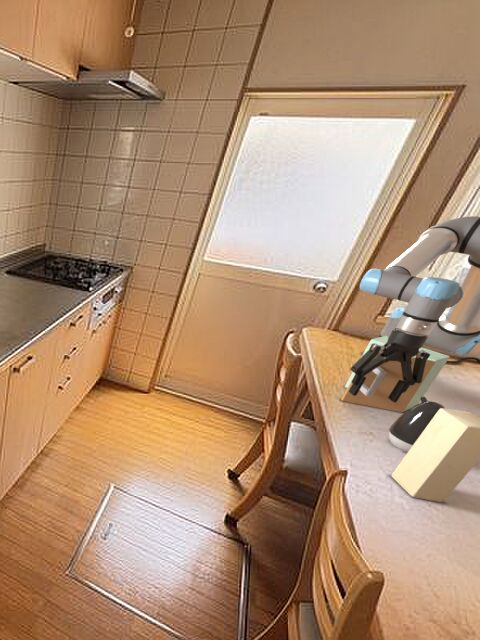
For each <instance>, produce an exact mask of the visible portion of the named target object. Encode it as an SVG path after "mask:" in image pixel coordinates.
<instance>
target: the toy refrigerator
mask: <svg viewBox="0 0 480 640" xmlns="http://www.w3.org/2000/svg"><path fill="white" fill-rule="evenodd" d="M479 460H480V417H479V416H477V415H476V414H474V413H472V412H470V411H463V410H457V409H450V408H445V409H444V408H440V409H439V410H438V412H437V413H436V414H435V416H434V417H433V419H432V420H431V421H430V423H429V424H428V425H427V427H426V428H425V430H424V431H423V432H422V434H421V435H420V436H419V438H418V439H417V441H416V442H415V443H414V445H413V446H412V447H411V449H410V450H409V452H406V454H405V456H404V457H403V458H402V460H401V461H400V462H399V464H398V465H397V466H396V468H395V469H394V470H393V472H392V473H391V475H390V476H391V477H392V479H393V480H394V481H395V482H396V483H398V485H400V486H401V487H402V488H403V490H405V491H406V492H407V493H408V495H410V496H411V497H412V498H414V499H421V500H427V501H433V502H438V503H444V502H445V501H446V500H447V498H448V497H450V495H451V494H452V493H453V492H454V490H455V489H456V488H457V486H458V485H459V484H460V483H461V482H462V481H463V480H464V478H465V477H466V476H467V475H468V473H469V472H470V471H471V470H472V468H474V466H475V465H476V464H477V462H478V461H479Z"/></svg>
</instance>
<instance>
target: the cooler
mask: <svg viewBox="0 0 480 640" xmlns="http://www.w3.org/2000/svg"><path fill="white" fill-rule="evenodd" d="M378 337H379V336H378ZM378 337H374V338H371V339H370V341H369V343H368V344H367V346H366V348H365V350H364V351H363V352H362V355H361V357H362V356H363V355H364V354H365V353H366V352H367V351H368V350H369V349H370V347H371V345H372V344H373V343H375V344H377V345H385V344H386V343H387V341H388V338H389V337H387V336H384V337H379V338H378ZM421 350H424V351H425V352H427V353H429V354H430V356H429V358H428V359H427V360H433V361H435V362H436V363H435V364H434V366H433V367H432V369H431V370H430V372H429V373H428V375H427V376H426V378H425V379H424V381H423V382H422V384H421V385H420V387H419V388H418V390H417V392H416V393H415V395H414V396H413V398H412V399H411V401H410V402H409V404H408V405H407V407H406V408H405V410H404V411H403V412H406V411H408V410H409V409H411V408H412V407H414V406H416V405H418V404H420V403H421V399H420V398H421V397H425V394H426V393H427V392H428V390H429V389H430V388H431V386H432V384H433V383H434V381H435V380H436V378H437V377H438V375H439V374H440V372H441V371H442V370H443V368H444V366H446V364H447V363H446V362H447V361H449V359H450V358H451V356H450V355H449V354H444V353H441V352H438V351H434V350H432V349H429V348H425V347H423V346H422V347H421V348H419V351H421ZM381 352H383V350H381ZM414 357H415V358H416V356H414ZM354 376H355V373H354V372H353V371H352V373H351V375H350V376H349V378H348V379H347V382H346V384H345V385H344V388H346V389H347V388H348V386H349V385H350V383H351V381H352V379H353V378H354Z"/></svg>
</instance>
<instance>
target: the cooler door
mask: <svg viewBox="0 0 480 640" xmlns="http://www.w3.org/2000/svg"><path fill="white" fill-rule="evenodd" d="M380 353H382V352H380ZM380 353H378V354H377V355H379V354H380ZM376 357H377V356H376ZM376 357H375V358H376ZM375 358H374V359H375ZM384 358H385V356H384ZM372 360H373V359H372ZM372 360H371V361H372ZM411 361H412V364H411V368H412V372H413V367H414V362H415V357H412V358H411ZM435 363H436V362H435V361H433V360H427V361H426V364H425V369H424V373H423V377H422V382H423V381H424V379H425V378H426V376H427V375H428V373H429V372H430V370H431V369H432V367H433V366H434V364H435ZM365 377H366V380H365V381H364V383H363V385H362V386H361V388H360V390H359V392H358V393H357V395H356V396H354V395H352V394H351V393H350V392H349V390H350V388H351V386H352V385H353V383H352V381H351V383H350V385H349V386H348V388H346V390H345V391H344V394H343V395H342V397H341V399H340V400H341V401H342V402H347V403H351V404H357V405H361V406H367V407H371V408H378V409H383V410H387V411H393V412H398V413H404V412H405V411H404V410H405V408H406V407H407V405H408V404H409V402H410V401H411V399H412V398H413V396H414V395H415V393H416V392H417V390H418V388H419V387H420V385H421V384H422V382H421V383H415V384H414V385H410V386H409V388H408V389H407V391H406V392H405V393H402V394H401V396H400V397H399V399H398V400H397V402H393V401H391V400H390V399H389V398H388V397H389V395H390V394H391V392H392V391H393V389H394V387H395V386H396V384H397V383H398V381H399V380H402V381H404V380H403V375H402V368H401V362H398V361H389V362H387V363H383V364H382V365H380V366H379V367H377V368H376V369H374V370H373V371H371V372H369V373H368V374H366V375H365ZM352 380H353V379H352Z"/></svg>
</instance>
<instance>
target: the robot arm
mask: <svg viewBox="0 0 480 640" xmlns="http://www.w3.org/2000/svg"><path fill="white" fill-rule="evenodd" d="M448 253H456V254H462V255H468V257H467V263H468V264H469V265H470V267H469V269H468V271H467V273H466V275H465V277H464V279H463V281H462V283H461V284H460V283H459V282H458V281H455V280H452V279H446V278H443V277H434V276H433V277H432V276H427V277H418V275H420V273H422V272H424V270H426V268H428V266H430V265H431V264H433V262H435V261H436V260H437V259H438V258H440V257H441V256H442V255H443V256H444V255H446V254H448ZM359 290H360V291H361V292H363V293H368V294H371V295H372V296H379V297H382V298H383V297H384V298H388V299H392V300H397V301H401V302H405V303H408V304H407V305H406V306H398V307H396V308H395V309H394V310H393V311H392V313H391V314H390V315H389V317H388V319H387V320H386V323H385V325H384V326H383V328H382V330H381V332H380V333H379V336H377V338H379V337H384V336H387V337H389V338H388V341H387V343H386V344H385V345H377V344H375V343H373V344H372V345H371V347H370V349H369V350H368V351H367V352H366V353H365V354H364V355H363V354H362V355H363V356H362V355H361V357H360V358H359V359H357V361H356V362H355V363H354V364H352V366H351V367H350V371H351V372H352V373H353V372H354V373H355V376H354V378H353V380H352V383H353V385H352V386H351V388H350V390H349V392H350V393H351V394H352V395H354V396H356V395H357V393H358V392H359V390H360V388H361V386H362V385H363V383H364V381H365V380H366V377H365V375H366V374H368V373H369V372H371V371H373V370H374V369H376V368H377V367H379V366H380V365H382V364H383V363H387V362H389V361H398V362H401V368H402V375H403V380H404V381H402V380H399V381H398V383H397V384H396V386H395V387H394V389H393V391H392V392H391V394H390V395H389V397H388V398H389V399H390V400H391V401H393V402H397V400H398V399H399V397H400V396H401V394H402V393H405V392H406V391H407V389H408V388H409V386H410V385H414V384H415V383H421V382H422V377H423V373H424V369H425V364H426V361H427V359H428V358H429V356H430V354H429V353H427V352H425V351H424V350H421V351H419V348H421V347H422V348H423V347H424V346H426V347H430V348H432V349H435V350H440V351H443V352H446V353H449V354H453V355H454V354H455V355H458V356H465V357H459V358H457V360H447V362H446V363H445V364H459V363H461V361H463V360H464V361H467V360H474V361H477V363H480V358H479V357H474V356H467V355H469V354H470V353H471V352H472V351H473V350H474V348H475V347H476V346H477V345H478V344H479V343H480V216H471V215H470V216H462V217H457V218H452V219H449V220H446V221H442V222H440V223H438V224H435V225H433V226H430V227H429V228H427V229H426V230H425V231H424V232H423V233H421V234H420V235H419V236H418V238H417V240H416V242H415V243H414V244H413V245H411V246H410V247H409V248H408V249H406V251H404V252H403V253H402V254H401V255H400V256H399V257H397V258H396V259H395V260H393V261H392V262H391V263H390V264H388V265H387V266H386V267H385V268H384V269H382V268H379V269H378V268H371V269H369V270H368V271H367V272H366V273H365V274H364V275H363V277H362V279H361V281H360V283H359ZM447 309H448V312H446V313H444V312H445V311H446V310H447ZM381 350H383V352H382V353H380V352H381ZM378 353H380V354H379V355H377V354H378ZM376 356H377V357H376ZM384 356H385V358H384ZM414 356H416V358H415V362H414V367H413V372H412V368H411V364H412V361H411V358H412V357H414ZM466 356H467V357H466ZM375 357H376V358H375ZM374 358H375V359H374ZM372 359H373V360H372ZM371 360H372V361H371Z"/></svg>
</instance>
